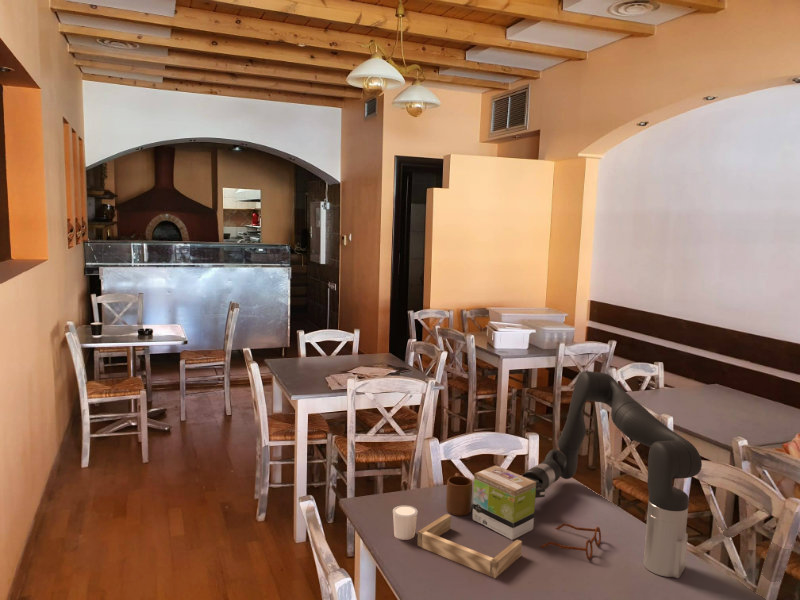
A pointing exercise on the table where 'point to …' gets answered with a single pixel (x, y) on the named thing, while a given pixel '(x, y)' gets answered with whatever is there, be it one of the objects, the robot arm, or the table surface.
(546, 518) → the table surface
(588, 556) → the glasses
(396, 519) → the white cup
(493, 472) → the tea box
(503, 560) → the corral
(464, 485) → the mug
